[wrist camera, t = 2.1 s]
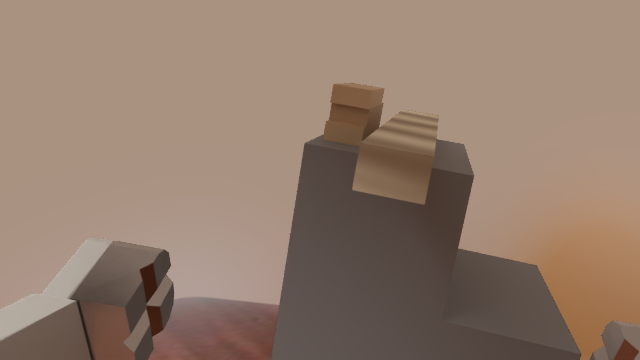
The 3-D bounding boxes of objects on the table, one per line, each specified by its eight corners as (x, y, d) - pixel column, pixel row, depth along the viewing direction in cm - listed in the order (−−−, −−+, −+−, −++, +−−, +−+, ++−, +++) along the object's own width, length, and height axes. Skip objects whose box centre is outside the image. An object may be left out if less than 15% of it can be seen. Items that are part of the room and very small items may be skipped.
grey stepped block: (513, 594, 36) (641, 139, 30) (247, 509, 39) (314, 83, 33) (492, 439, 51) (573, 118, 45) (302, 388, 54) (355, 81, 48)
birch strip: (424, 204, 23) (434, 156, 22) (352, 189, 23) (360, 142, 23) (434, 138, 48) (438, 115, 47) (399, 132, 48) (403, 109, 48)
